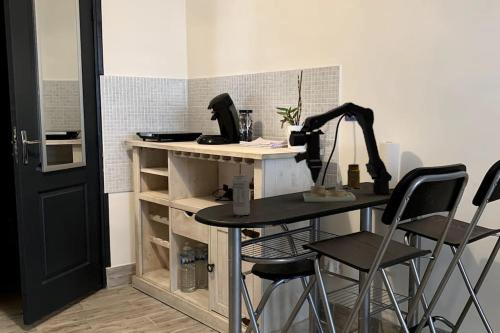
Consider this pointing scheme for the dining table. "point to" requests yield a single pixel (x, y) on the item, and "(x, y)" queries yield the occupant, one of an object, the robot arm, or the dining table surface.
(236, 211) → the energy drink can
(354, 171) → the condiment
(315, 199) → the tray
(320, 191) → the wooden block frame
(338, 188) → the cylinder
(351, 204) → the dining table surface
